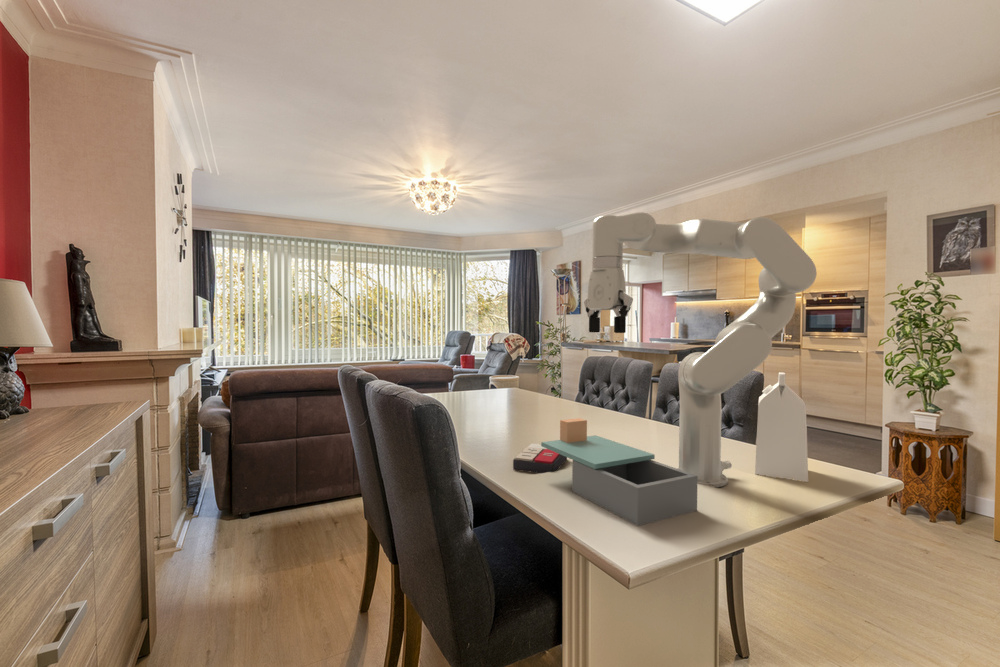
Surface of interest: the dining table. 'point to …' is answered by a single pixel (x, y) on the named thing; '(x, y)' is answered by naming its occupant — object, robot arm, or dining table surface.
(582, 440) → the lid
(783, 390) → the milk
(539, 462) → the calculator
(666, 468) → the tub
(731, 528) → the dining table surface
